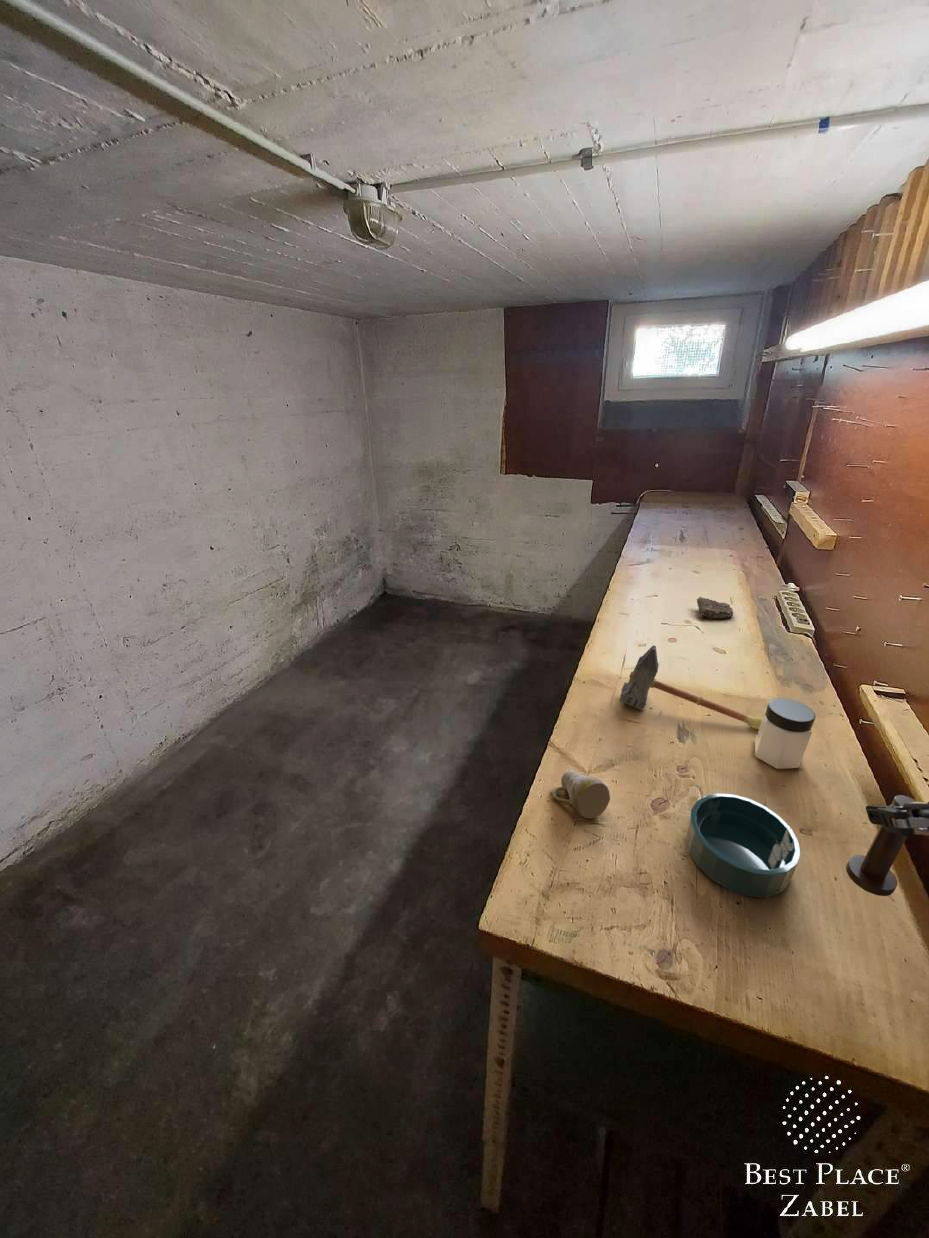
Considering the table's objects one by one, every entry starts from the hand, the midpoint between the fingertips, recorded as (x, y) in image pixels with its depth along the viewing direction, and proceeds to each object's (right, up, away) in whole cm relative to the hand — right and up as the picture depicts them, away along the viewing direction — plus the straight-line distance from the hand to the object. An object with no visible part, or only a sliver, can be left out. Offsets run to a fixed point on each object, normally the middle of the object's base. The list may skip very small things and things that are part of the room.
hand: (882, 813), depth 63 cm
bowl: (-9, -14, +18) cm, 25 cm away
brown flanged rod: (+1, -10, +3) cm, 10 cm away
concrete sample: (+29, +27, +99) cm, 107 cm away
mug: (-33, -10, +29) cm, 45 cm away
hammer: (-1, +3, +52) cm, 52 cm away
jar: (+11, -4, +39) cm, 41 cm away
